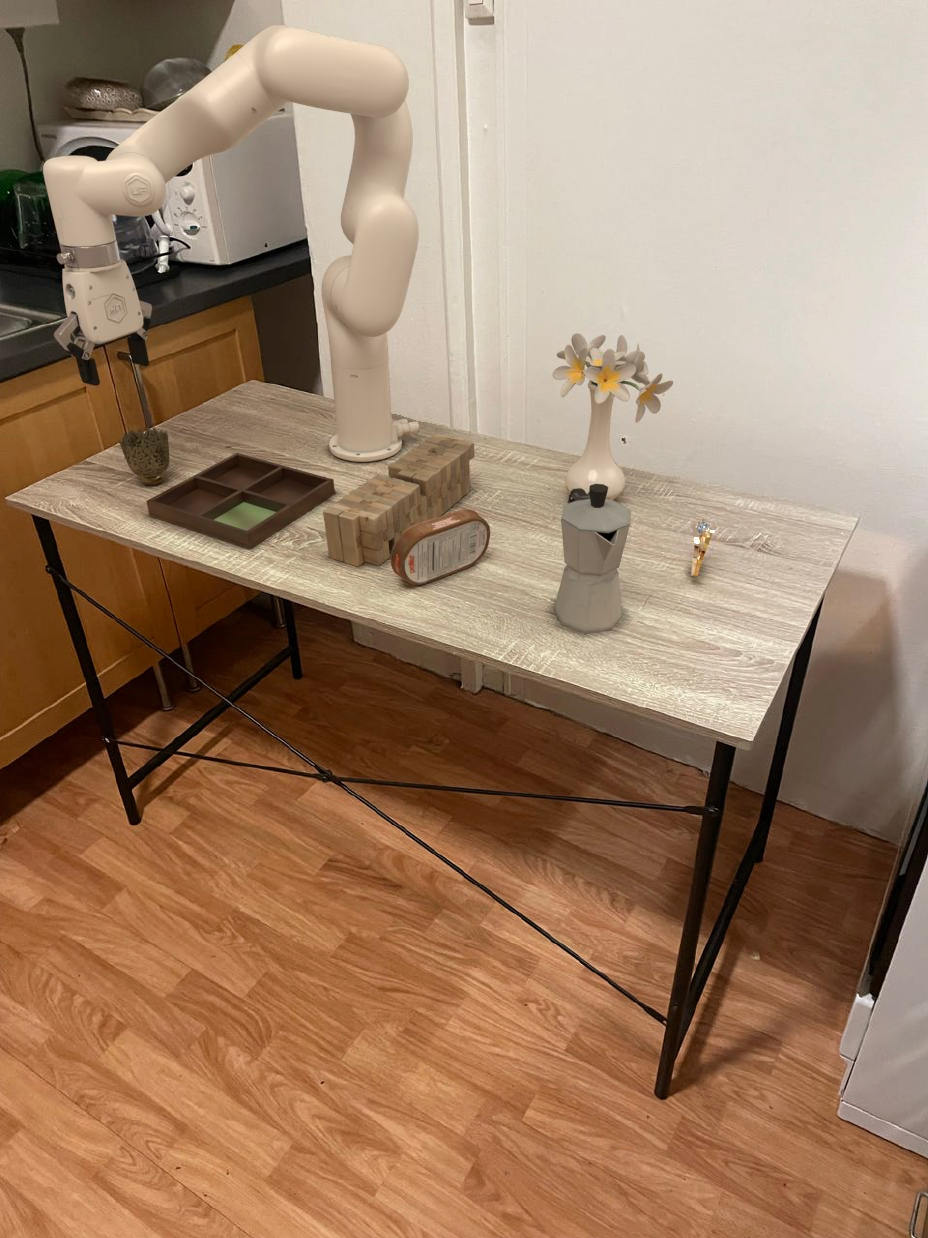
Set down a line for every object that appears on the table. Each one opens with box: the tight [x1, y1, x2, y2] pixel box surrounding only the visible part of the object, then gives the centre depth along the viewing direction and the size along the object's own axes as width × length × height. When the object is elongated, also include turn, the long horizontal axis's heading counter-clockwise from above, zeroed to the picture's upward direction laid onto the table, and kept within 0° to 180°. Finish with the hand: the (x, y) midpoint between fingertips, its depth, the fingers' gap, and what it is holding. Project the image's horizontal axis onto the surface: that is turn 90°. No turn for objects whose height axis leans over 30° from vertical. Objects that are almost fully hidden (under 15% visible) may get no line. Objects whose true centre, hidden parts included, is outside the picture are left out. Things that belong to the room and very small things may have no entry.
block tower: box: [322, 433, 475, 567], centre depth 136 cm, size 8×8×29 cm
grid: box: [145, 452, 336, 550], centre depth 142 cm, size 20×20×3 cm
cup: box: [118, 427, 170, 486], centre depth 147 cm, size 8×7×8 cm
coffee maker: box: [553, 484, 632, 634], centre depth 114 cm, size 15×9×18 cm, turn 12°
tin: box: [390, 508, 491, 586], centre depth 124 cm, size 15×3×8 cm, turn 126°
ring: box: [690, 518, 716, 578], centre depth 123 cm, size 7×3×8 cm, turn 159°
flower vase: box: [551, 332, 674, 501], centre depth 136 cm, size 13×18×25 cm
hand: (116, 373), depth 138 cm, fingers open, 9 cm apart
